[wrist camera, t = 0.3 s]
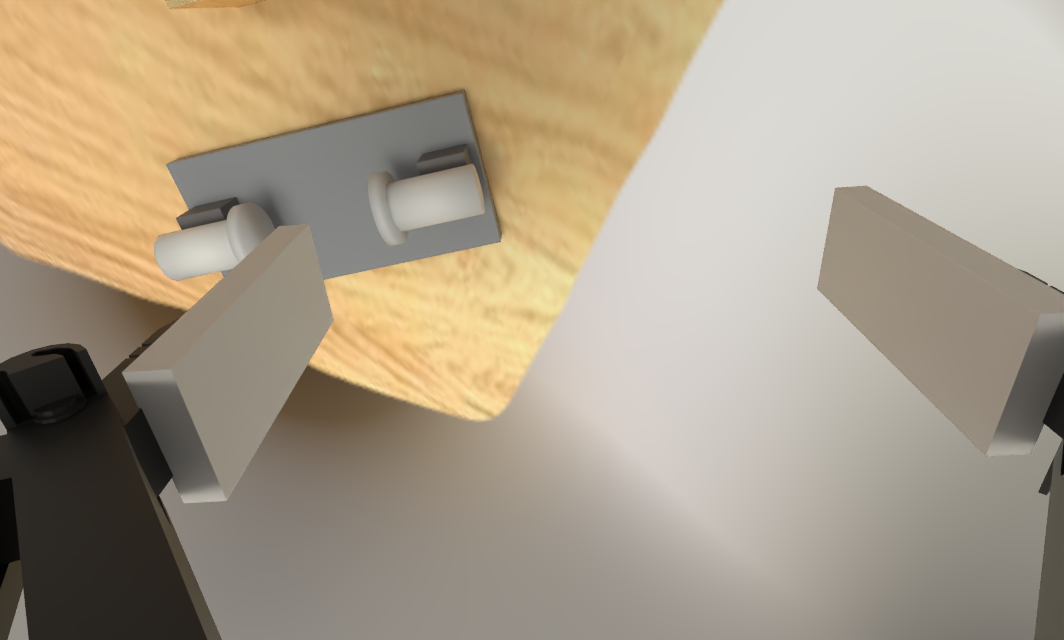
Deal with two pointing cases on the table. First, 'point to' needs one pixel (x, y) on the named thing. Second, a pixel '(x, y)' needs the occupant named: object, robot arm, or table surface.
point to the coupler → (208, 3)
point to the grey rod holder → (339, 192)
